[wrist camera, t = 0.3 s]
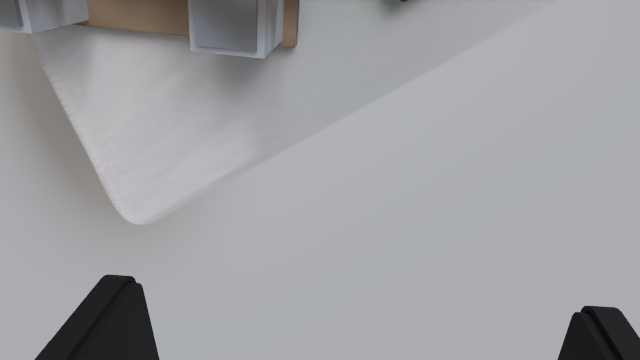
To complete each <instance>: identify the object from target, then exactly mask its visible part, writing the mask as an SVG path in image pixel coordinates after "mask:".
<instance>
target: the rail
mask: <svg viewBox="0 0 640 360" xmlns="http://www.w3.org/2000/svg"><path fill="white" fill-rule="evenodd" d="M298 13H299V0H0V31H9V32H18V33H27V34H35V33H39V32H43V31H47V30H51V29H55V28H59V27H63V26H67V25H71V24H74V25H84V26H93V27H103V28H112V29H122V30H131V31H141V32H150V33H160V34H169V35H179V36H188V37H190V51H195V52H205V53H214V54H223V55H233V56H242V57H252V58H261V59H265V58H266V56H267V55H268V54H269V53H270V52H271V51H272V50H273V49H274V48H275V47H276V46H283V47H293V48H295V46H296V45H297V31H298Z"/></svg>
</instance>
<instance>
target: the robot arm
mask: <svg viewBox="0 0 640 360" xmlns="http://www.w3.org/2000/svg"><path fill="white" fill-rule="evenodd" d="M35 360H159V356H158V352H157V348H156V343H155V339H154V335H153V330H152V326H151V322H150V317H149V313H148V309H147V304H146V300H145V296H144V291H143V288H142V285H141V284H139V283H136V281H135V279H134V278H133V277H132V276H119V275H105V276H104V277H102V278H101V279H100V281H99V282H98V283H97V285H96V286H95V287H94V288H93V289H92V290H91V292H90V293H89V294H88V295H87V297H86V298H85V299H84V300H83V301H82V303H81V304H80V305H79V306H78V308H77V309H76V310H75V311H74V313H73V314H72V315H71V316H70V317H69V319H68V320H67V321H66V322H65V324H64V325H63V326H62V327H61V329H60V330H59V331H58V332H57V333H56V335H55V336H54V337H53V338H52V339H51V341H49V343H48V344H47V345H46V346H45V348H44V349H43V350H42V351H41V352H40V354H39V355H38V356H37V357H36V359H35ZM558 360H640V338H639V337H638V335H637V334H636V332H635V331H634V329H633V328H632V327H631V325H630V324H629V322H628V321H627V319H626V318H625V317H624V315H623V314H622V312H621V311H620V310H619V309H617V308H614V307H599V306H584V307H583V308H582V310H581V312H580V313H579V312H575V313H574V314H573V316H572V319H571V321H570V325H569V327H568V330H567V333H566V336H565V339H564V342H563V346H562V348H561V351H560V354H559V357H558Z"/></svg>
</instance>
